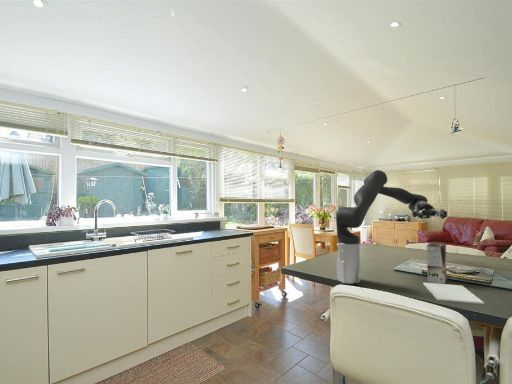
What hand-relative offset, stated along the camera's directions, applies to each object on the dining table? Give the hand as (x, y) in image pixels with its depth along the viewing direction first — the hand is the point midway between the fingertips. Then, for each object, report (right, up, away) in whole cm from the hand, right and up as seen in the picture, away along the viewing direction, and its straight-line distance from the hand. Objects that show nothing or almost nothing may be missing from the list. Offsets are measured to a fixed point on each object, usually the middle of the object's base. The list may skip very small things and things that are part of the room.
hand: (432, 216), depth 125 cm
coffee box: (-3, -28, -7) cm, 29 cm away
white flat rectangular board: (-7, -28, -22) cm, 36 cm away
